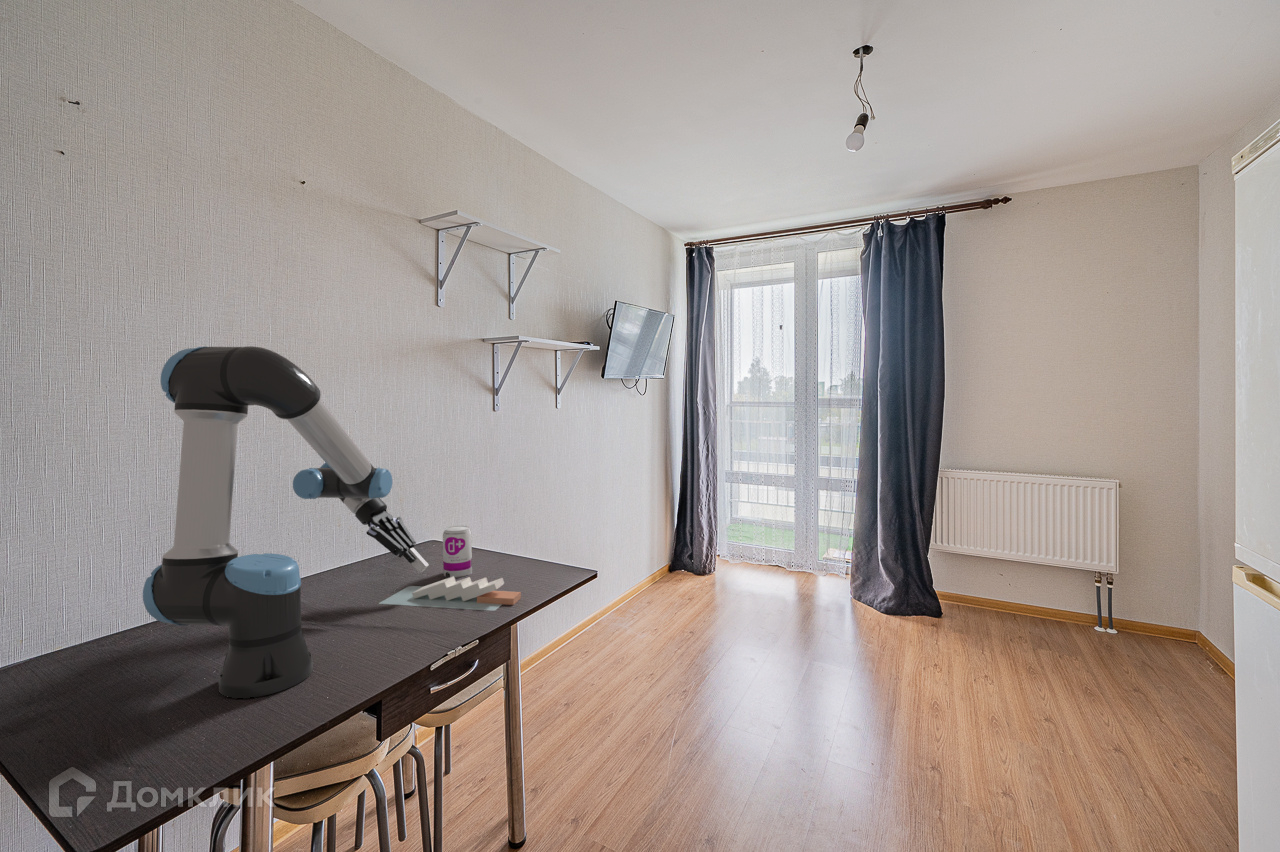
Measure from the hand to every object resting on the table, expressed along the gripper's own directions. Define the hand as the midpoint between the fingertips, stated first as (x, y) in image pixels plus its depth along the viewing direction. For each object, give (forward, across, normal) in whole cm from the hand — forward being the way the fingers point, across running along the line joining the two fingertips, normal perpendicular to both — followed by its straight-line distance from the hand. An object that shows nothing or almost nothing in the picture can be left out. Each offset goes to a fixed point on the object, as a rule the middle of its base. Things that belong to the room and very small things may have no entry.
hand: (424, 569), depth 150 cm
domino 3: (+10, 0, 0) cm, 10 cm away
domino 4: (+13, 0, +4) cm, 14 cm away
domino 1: (+3, 0, -6) cm, 7 cm away
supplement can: (+6, -20, -7) cm, 22 cm away
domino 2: (+7, 0, -3) cm, 7 cm away
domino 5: (+16, 0, +7) cm, 17 cm away
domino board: (+11, 0, -1) cm, 11 cm away
